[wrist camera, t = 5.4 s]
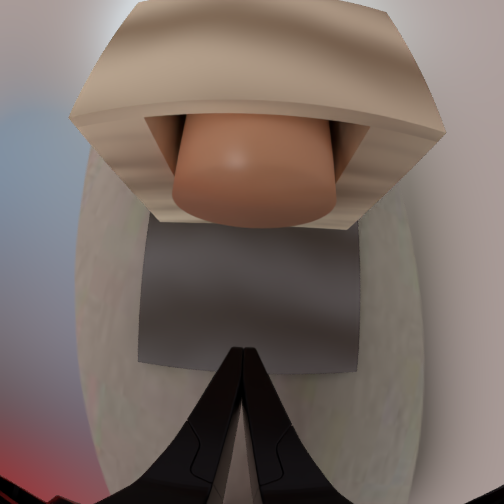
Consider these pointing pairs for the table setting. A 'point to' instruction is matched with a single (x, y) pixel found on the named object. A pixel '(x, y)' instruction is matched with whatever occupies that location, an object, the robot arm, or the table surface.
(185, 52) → the knob mount
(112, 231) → the table surface
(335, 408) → the table surface
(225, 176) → the knob
